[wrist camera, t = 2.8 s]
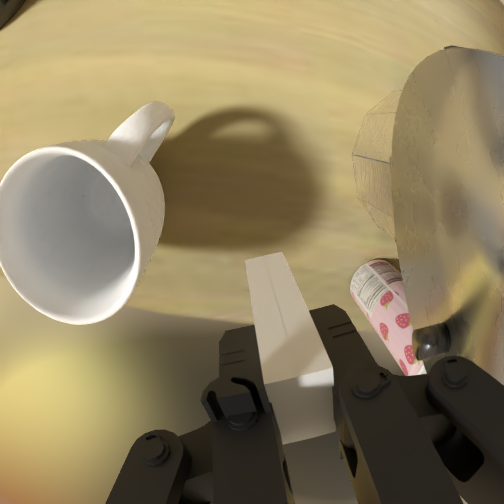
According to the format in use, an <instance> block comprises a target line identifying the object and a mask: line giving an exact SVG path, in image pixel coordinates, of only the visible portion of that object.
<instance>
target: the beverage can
mask: <svg viewBox="0 0 504 504" xmlns="http://www.w3.org/2000/svg"><path fill="white" fill-rule="evenodd" d="M350 291H351V295H352V297H353V299H354V300H355V302H356V303H357V304H358V306H359V307H360V309H361V310H362V311H363V313H364V314H365V316H366V317H367V319H368V320H369V322H370V323H371V324H372V326H373V327H374V329H375V330H376V332H377V333H378V335H379V336H380V337H381V339H382V340H383V342H384V343H385V345H386V346H387V348H388V349H389V351H390V352H391V354H392V355H393V357H394V358H395V360H396V361H397V363H398V364H399V366H400V368H401V369H402V371H403V372H404V374H405V375H406V376H412V375H420V374H427V373H426V370H425V367H424V364H423V362H422V360H421V361H418V360H417V359H416V357H415V355H414V352H413V348H412V333H413V328H412V324H411V320H410V316H409V311H408V307H407V302H406V297H405V292H404V287H403V282H402V276H401V273H400V272H399V271H397V270H396V269H395V268H394V267H393V266H392V265H391V264H390V263H389V262H387V261H385V260H381V259H380V260H372V261H369V262H367V263H365V264H364V265H362V266H361V267H360V268H359V269H358V270H357V272H356V273H355V274H354V276H353V278H352V281H351V286H350Z"/></svg>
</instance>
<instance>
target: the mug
mask: <svg viewBox="0 0 504 504" xmlns="http://www.w3.org/2000/svg"><path fill="white" fill-rule="evenodd" d="M174 119H175V114H174V112H173V110H172V109H171V108H170V107H169V106H167V105H166V104H164V103H162V102H159V101H154V102H150V103H148V104H146V105H144V106H143V107H141V108H140V109H139V110H137V111H136V112H135V113H134V114H132V115H131V116H130V117H129V118H128V119H127V120H126V121H124V122H123V123H122V124H121V125H120V126H119V127H118V128H117V129H116V130H115V131H114V132H113V134H112V135H111V136H110V137H109V139H108V140H107V141H104V140H102V141H98V140H81V141H72V142H64V143H60V144H55V145H50V146H46V147H42V148H39V149H36V150H33V151H31V152H29V153H27V154H26V155H24V156H23V157H21V158H20V159H19V160H18V161H16V162H15V163H14V164H13V165H12V167H11V168H10V169H9V170H8V171H7V173H6V174H5V176H4V178H3V180H2V181H1V183H0V266H1V268H2V270H3V272H4V274H5V275H6V277H7V279H8V280H9V282H10V283H11V285H12V286H13V288H14V289H15V290H16V291H17V293H18V294H19V295H20V296H21V297H22V298H23V299H24V300H25V301H26V302H27V303H29V304H30V305H31V306H32V307H34V308H35V309H36V310H38V311H39V312H41V313H43V314H44V315H47V316H48V317H51V318H53V319H55V320H58V321H61V322H65V323H70V324H91V323H96V322H99V321H102V320H105V319H106V318H109V317H110V316H112V315H113V314H115V313H116V312H117V311H119V310H120V309H121V308H122V307H123V306H124V305H125V304H126V303H127V301H128V300H129V298H130V297H131V295H132V294H133V292H134V290H135V288H136V287H137V285H138V283H139V282H140V279H141V277H142V275H143V274H144V273H145V271H146V267H147V265H148V264H149V262H150V261H151V257H152V255H153V254H154V252H155V249H156V246H157V245H158V242H159V237H160V236H161V233H162V228H163V224H164V216H165V202H164V194H163V189H162V185H161V183H160V180H159V178H158V175H157V174H156V173H155V170H154V169H153V168H152V166H151V165H150V164H149V163H150V161H151V159H152V158H153V156H154V154H155V153H156V151H157V150H158V148H159V147H160V145H161V143H162V142H163V140H164V138H165V136H166V135H167V133H168V131H169V129H170V128H171V126H172V124H173V122H174Z"/></svg>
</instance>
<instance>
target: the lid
mask: <svg viewBox="0 0 504 504" xmlns="http://www.w3.org/2000/svg"><path fill="white" fill-rule="evenodd" d="M389 160H390V169H391V184H392V204H393V216H394V226H395V242H396V243H397V251H398V257H399V264H400V270H401V276H402V282H403V287H404V292H405V297H406V302H407V307H408V311H409V316H410V320H411V324H412V328H413V333H412V348H413V352H414V355H415V357H416V359H417V360H418V361H421V360H422V362H423V364H424V367H425V370H426V373H427V374H428V373H430V370H431V367H432V366H433V365H434V364H435V363H436V361H438V360H440V359H442V358H444V357H448V356H460V357H465V358H467V359H469V360H471V361H472V362H474V363H475V364H476V365H478V366H479V367H480V368H482V369H483V370H484V371H486V372H487V373H488V374H490V375H491V376H492V377H494V378H495V379H496V380H497V381H499V382H500V383H501V384H503V385H504V56H503V55H500V54H497V53H494V52H489V51H484V50H478V49H470V48H456V47H455V48H449V49H444V50H440V51H438V52H435V53H433V54H431V55H429V56H427V57H426V58H425V59H424V60H423V61H422V62H420V63H419V64H418V65H417V67H416V68H415V69H414V70H413V72H412V73H411V74H410V76H409V78H408V80H407V82H406V84H405V86H404V88H403V91H402V93H401V96H400V99H399V103H398V107H397V111H396V116H395V122H394V128H393V138H392V153H391V156H390V157H389Z"/></svg>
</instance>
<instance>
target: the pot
mask: <svg viewBox="0 0 504 504" xmlns="http://www.w3.org/2000/svg"><path fill="white" fill-rule="evenodd" d="M455 47H456V48H463V47H457V46H448V47H444V49H449V48H455ZM402 91H403V90H399V91H393V92H392V93H391V94H389V95H388V96H387V97H386V98H384V99H383V100H382V101H381V102H380V103H378V104H377V105H376V106H375V107H374V108H372V109H371V110H370V111H369V112H367V113H366V115H365V117H364V120H363V123H362V126H361V129H360V132H359V135H358V138H357V141H356V144H355V147H354V150H353V152H352V154H353V155H352V159H353V166H354V173H355V181H356V189H357V197H358V199H359V200H360V201H361V203H362V204H363V206H364V207H365V208H366V210H367V211H368V213H369V214H370V216H371V217H372V218H373V220H374V221H375V223H376V224H377V226H378V227H379V228H380V229H381V230H383V231H384V232H386V233H387V234H388V235H390V236H391V237H393V238H394V239H395V226H394V216H393V204H392V184H391V169H390V160H389V157H390V156H391V153H392V138H393V128H394V122H395V116H396V111H397V107H398V103H399V99H400V96H401V93H402Z"/></svg>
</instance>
